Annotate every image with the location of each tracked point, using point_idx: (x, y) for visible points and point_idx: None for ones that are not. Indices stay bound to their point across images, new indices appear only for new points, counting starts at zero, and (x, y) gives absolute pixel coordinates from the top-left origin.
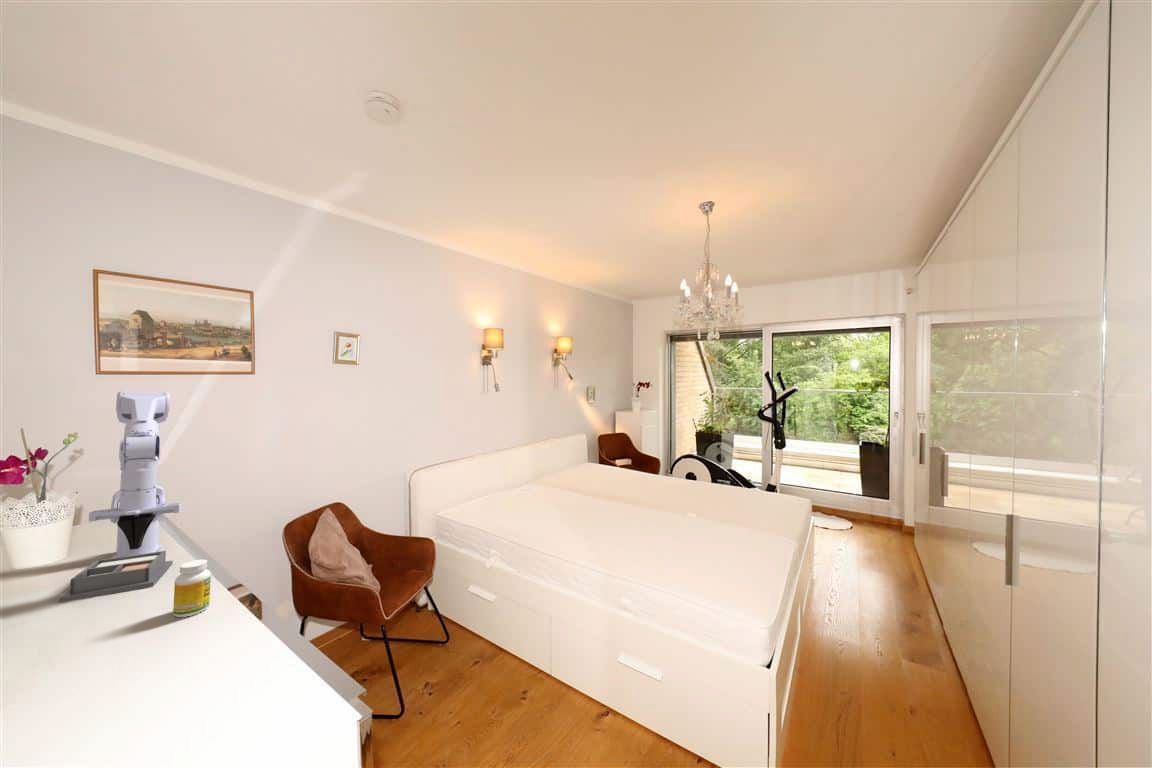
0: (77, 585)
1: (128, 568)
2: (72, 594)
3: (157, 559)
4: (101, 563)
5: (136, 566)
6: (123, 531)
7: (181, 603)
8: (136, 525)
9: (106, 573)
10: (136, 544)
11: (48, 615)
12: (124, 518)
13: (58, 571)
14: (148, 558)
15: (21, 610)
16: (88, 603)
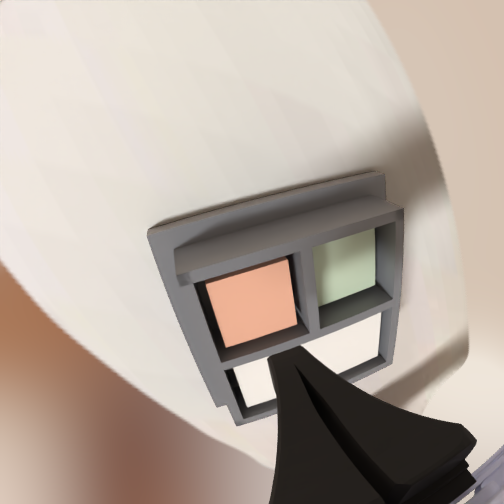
0: (373, 205)
1: (276, 304)
2: (363, 189)
3: (210, 366)
4: (375, 352)
5: (258, 322)
6: (395, 407)
7: None
8: (341, 473)
9: (337, 295)
10: (282, 369)
11: (349, 75)
12: (444, 488)
13: (427, 361)
14: (261, 385)
15: (422, 150)
16: (290, 128)
